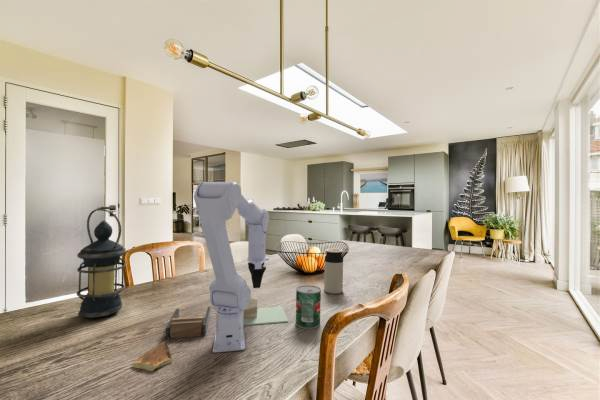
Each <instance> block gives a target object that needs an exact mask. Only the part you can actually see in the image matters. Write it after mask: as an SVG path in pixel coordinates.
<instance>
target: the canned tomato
mask: <svg viewBox="0 0 600 400" xmlns="http://www.w3.org/2000/svg"><path fill="white" fill-rule="evenodd" d="M295 293H296V294H295V325H296V326H297V327H298V328H301V329H305V330H313V329H316V328H319V326H320V325H321V305H322V304H321V302H322V301H321V299H322V298H321V296H322V289H321V287H319V286H316V285H309V284H308V285H307V284H306V285H305V284H304V285H299V286H297V287H296V289H295Z"/></svg>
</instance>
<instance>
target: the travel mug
mask: <svg viewBox="0 0 600 400" xmlns="http://www.w3.org/2000/svg"><path fill="white" fill-rule="evenodd" d="M343 251H344V250H343V249H341V248H340V249H339V248H326V249H325V253H326V254H325V256H324V282H323V283H324V285H323V291H324V292H325V293H328V294H331V295H338V294H341V293H342V292H343V288H344V287H343V282H344V279H343V278H344V256H343Z"/></svg>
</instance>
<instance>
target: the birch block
mask: <svg viewBox="0 0 600 400" xmlns="http://www.w3.org/2000/svg"><path fill="white" fill-rule="evenodd" d="M257 308H258V298H257V295H256V294H254V295H252V294H251V298H250V302H249V304H248V306H247V307H246V308H245V309H244V314H243V319H246V318H256V317H257Z"/></svg>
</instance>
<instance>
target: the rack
mask: <svg viewBox="0 0 600 400" xmlns="http://www.w3.org/2000/svg"><path fill="white" fill-rule="evenodd" d="M211 308H212V306H207V309H206V313H205V316H204V319H203V333H202V337H205V336H206V335H207V332H208V327H209V322H210V318H211ZM172 318H180V308H176V309H175V310H174V313H173V314H172V316H171V318H170V319H169V321H168V322H167V324H166V326H165V329H164V330H165V331H164V332H165V335H164V339H165V340H169V338H171V322H172Z"/></svg>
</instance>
